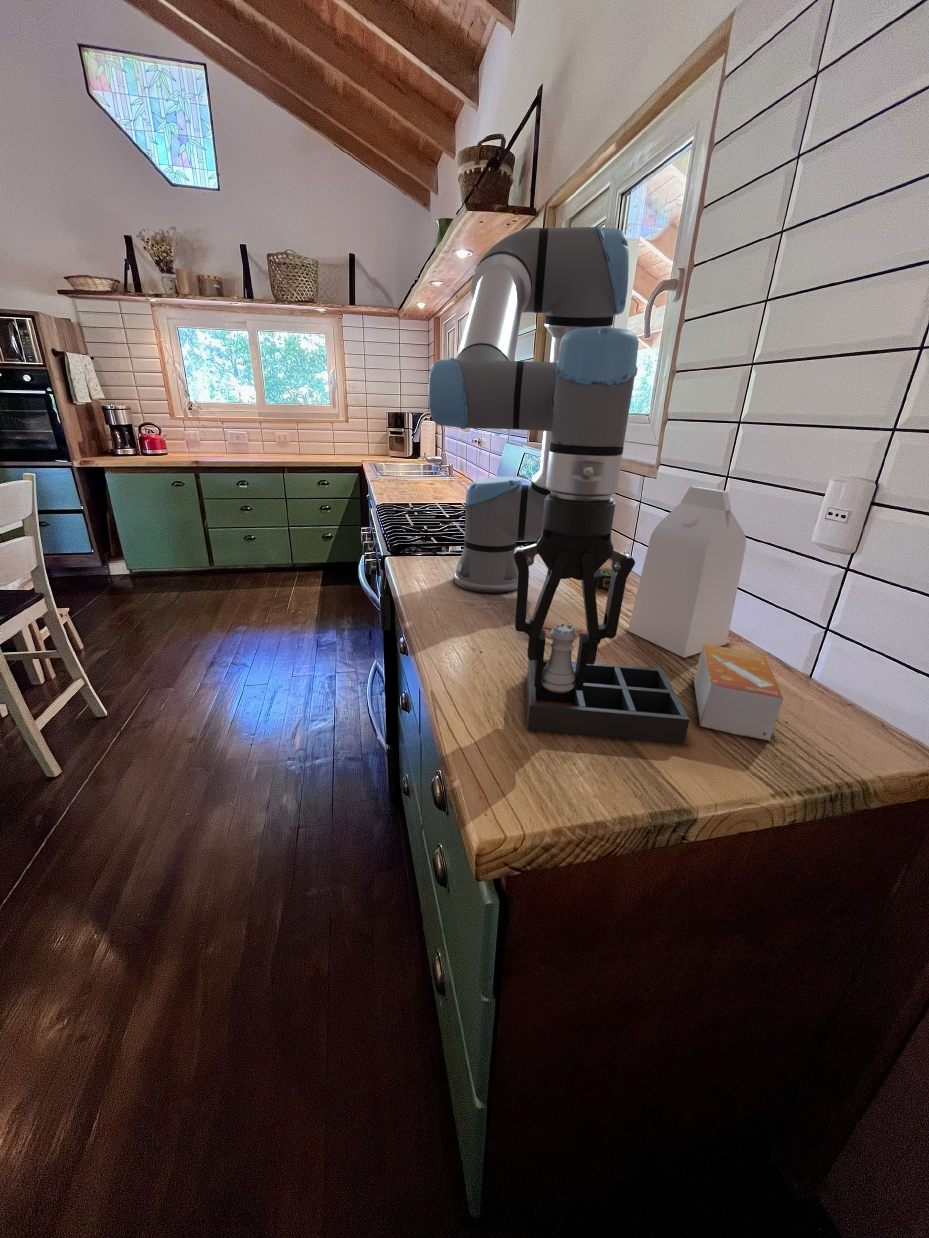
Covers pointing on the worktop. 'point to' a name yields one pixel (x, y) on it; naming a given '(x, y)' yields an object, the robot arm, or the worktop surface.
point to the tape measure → (603, 578)
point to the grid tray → (610, 705)
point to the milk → (690, 575)
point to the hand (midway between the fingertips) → (557, 682)
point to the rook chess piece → (560, 660)
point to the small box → (736, 692)
